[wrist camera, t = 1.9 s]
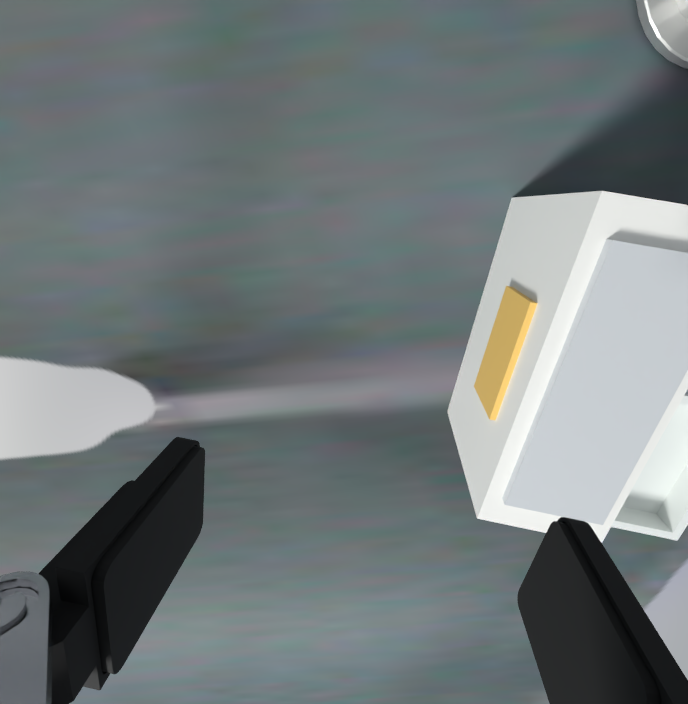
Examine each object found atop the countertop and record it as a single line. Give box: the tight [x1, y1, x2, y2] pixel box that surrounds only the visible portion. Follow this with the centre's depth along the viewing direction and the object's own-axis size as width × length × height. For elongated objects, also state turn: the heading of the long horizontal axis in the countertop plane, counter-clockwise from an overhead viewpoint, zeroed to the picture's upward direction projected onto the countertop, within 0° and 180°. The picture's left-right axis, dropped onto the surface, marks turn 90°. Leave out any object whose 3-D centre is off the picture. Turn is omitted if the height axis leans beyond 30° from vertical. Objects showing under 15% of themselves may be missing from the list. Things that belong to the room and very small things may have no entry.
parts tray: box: [611, 390, 688, 540], centre depth 36 cm, size 15×14×3 cm
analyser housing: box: [447, 191, 688, 543], centre depth 27 cm, size 20×9×15 cm, turn 171°
